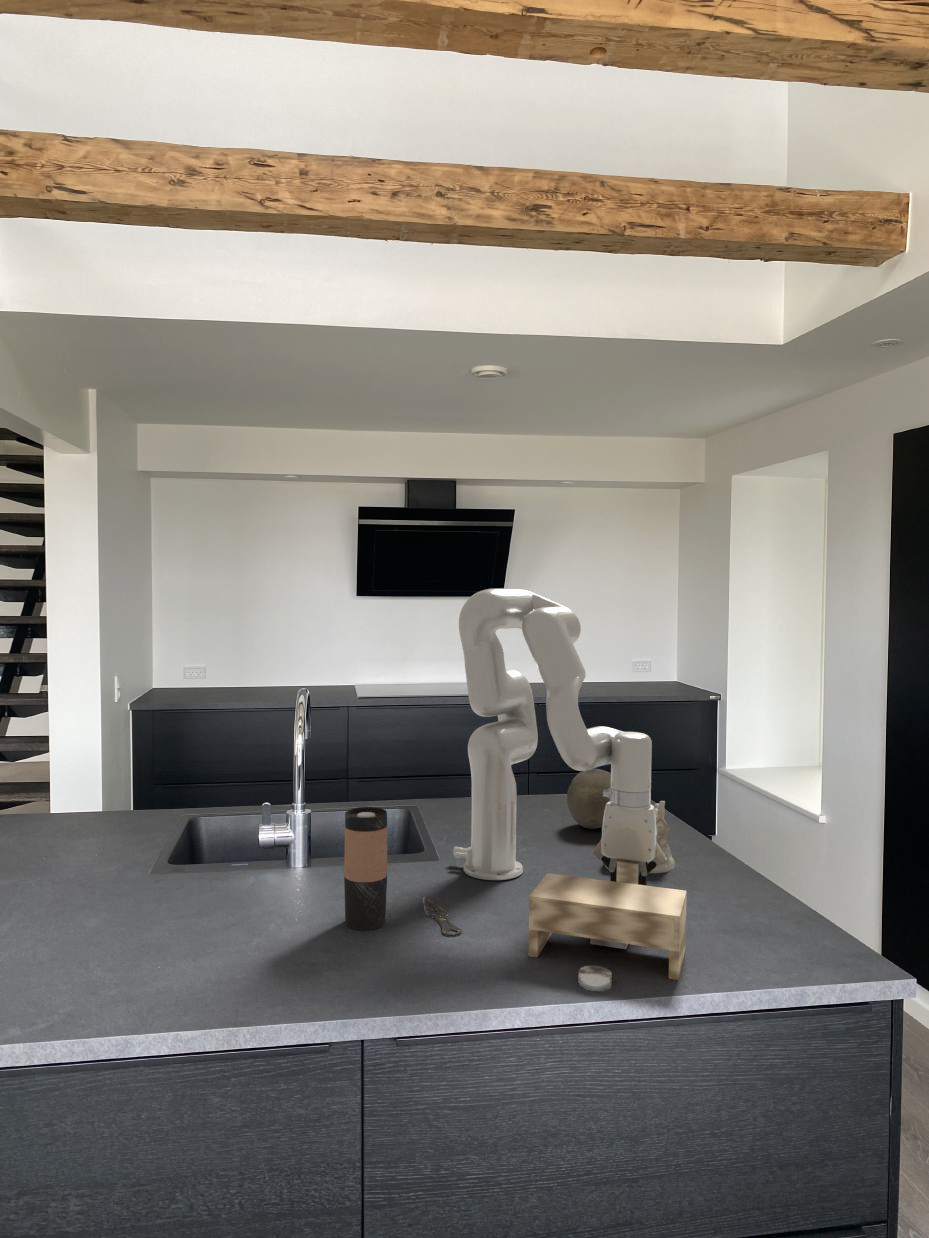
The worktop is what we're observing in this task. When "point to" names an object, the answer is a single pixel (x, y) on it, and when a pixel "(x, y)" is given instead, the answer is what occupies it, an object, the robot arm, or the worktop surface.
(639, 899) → the oak bench
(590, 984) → the steel puck
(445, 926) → the throwing knife
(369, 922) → the travel mug
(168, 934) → the worktop surface
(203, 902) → the worktop surface
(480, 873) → the robot arm
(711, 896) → the worktop surface
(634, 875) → the tan piece
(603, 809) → the cantaloupe
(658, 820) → the ceramic cottage
